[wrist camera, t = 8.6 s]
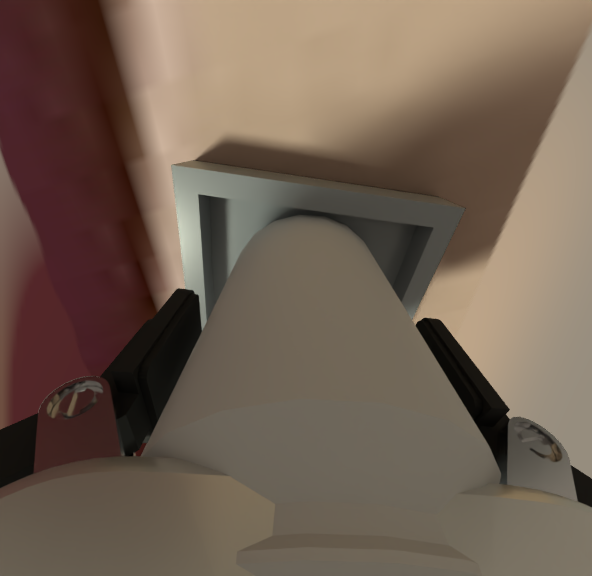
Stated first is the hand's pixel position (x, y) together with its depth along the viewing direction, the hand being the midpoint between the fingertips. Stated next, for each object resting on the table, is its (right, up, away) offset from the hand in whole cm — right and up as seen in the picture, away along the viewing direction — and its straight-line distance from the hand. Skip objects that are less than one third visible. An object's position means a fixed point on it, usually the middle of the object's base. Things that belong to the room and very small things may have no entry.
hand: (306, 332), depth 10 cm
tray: (-1, -2, +8) cm, 8 cm away
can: (0, +3, +4) cm, 5 cm away
